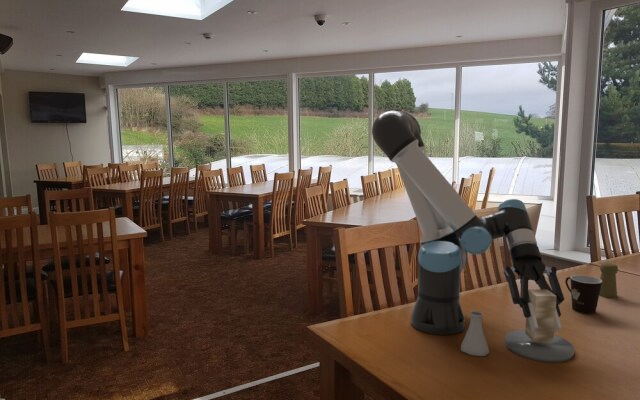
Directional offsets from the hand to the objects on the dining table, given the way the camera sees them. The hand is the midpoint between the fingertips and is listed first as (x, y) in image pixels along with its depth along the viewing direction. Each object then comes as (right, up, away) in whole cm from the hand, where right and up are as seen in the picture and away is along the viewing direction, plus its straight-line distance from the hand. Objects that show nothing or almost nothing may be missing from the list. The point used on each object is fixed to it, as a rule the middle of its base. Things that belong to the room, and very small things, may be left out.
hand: (546, 329), depth 115 cm
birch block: (0, -3, +4) cm, 5 cm away
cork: (+42, -1, +44) cm, 61 cm away
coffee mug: (+27, -2, +31) cm, 41 cm away
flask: (-17, -6, +3) cm, 18 cm away
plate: (0, -6, +5) cm, 7 cm away
